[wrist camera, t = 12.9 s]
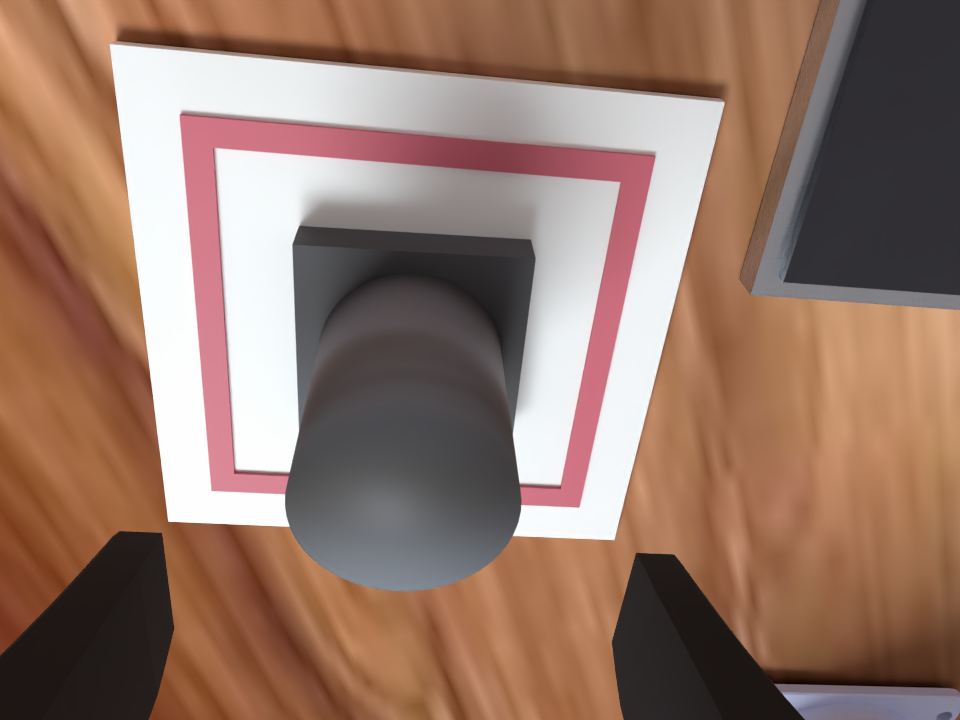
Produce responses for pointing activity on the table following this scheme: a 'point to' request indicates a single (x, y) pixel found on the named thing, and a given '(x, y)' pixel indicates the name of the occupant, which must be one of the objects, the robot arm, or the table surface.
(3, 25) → the table surface
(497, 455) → the stamp
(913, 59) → the ink pad
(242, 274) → the marked sheet
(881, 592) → the table surface
